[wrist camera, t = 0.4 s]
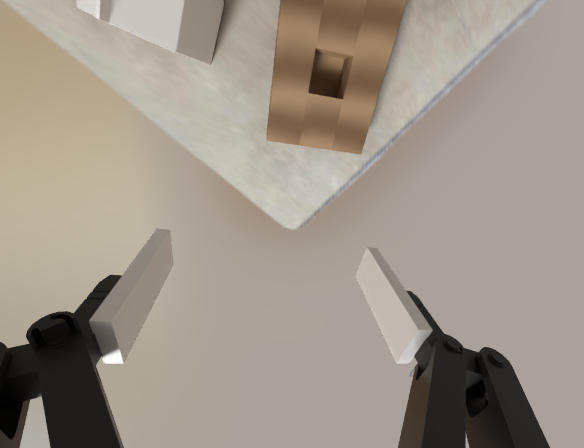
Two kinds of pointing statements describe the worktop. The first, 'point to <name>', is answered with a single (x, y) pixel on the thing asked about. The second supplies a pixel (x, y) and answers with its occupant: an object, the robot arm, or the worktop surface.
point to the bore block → (330, 70)
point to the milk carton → (165, 22)
